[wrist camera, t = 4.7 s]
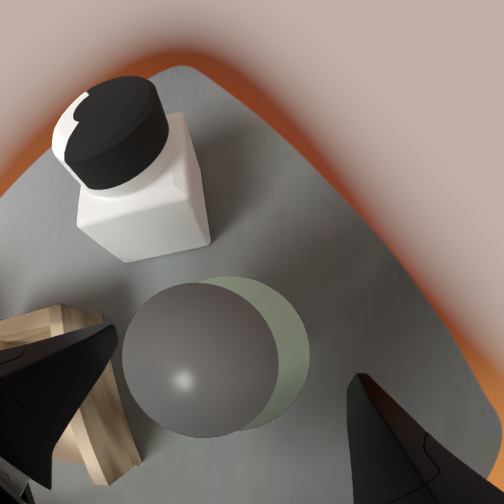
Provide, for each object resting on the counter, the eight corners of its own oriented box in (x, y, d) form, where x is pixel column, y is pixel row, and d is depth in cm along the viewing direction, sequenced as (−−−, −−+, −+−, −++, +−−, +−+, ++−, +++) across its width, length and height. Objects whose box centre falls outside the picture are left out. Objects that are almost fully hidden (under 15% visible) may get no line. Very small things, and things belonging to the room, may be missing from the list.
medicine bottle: (200, 170, 23) (166, 49, 11) (212, 246, 20) (163, 129, 9) (124, 189, 22) (56, 91, 11) (124, 265, 20) (22, 184, 9)
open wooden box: (142, 462, 15) (112, 486, 10) (40, 453, 14) (7, 463, 9) (102, 314, 19) (63, 302, 14) (13, 335, 18) (-23, 327, 13)
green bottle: (295, 369, 17) (399, 425, 3) (224, 398, 17) (133, 513, 3) (264, 301, 19) (276, 172, 5) (194, 330, 18) (46, 274, 5)
